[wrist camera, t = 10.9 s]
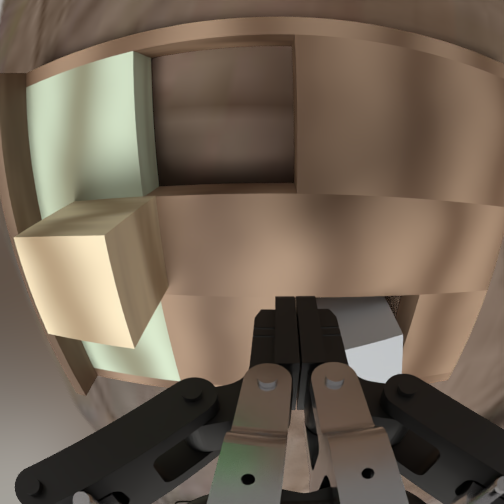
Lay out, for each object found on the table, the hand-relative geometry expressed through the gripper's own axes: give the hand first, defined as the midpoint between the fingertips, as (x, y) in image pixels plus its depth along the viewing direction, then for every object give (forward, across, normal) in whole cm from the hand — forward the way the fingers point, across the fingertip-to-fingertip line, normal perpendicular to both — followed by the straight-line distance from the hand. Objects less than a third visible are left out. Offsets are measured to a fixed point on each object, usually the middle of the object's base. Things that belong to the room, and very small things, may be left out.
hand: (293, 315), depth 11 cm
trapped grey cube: (+8, -4, +7) cm, 11 cm away
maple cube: (+5, +10, -1) cm, 11 cm away
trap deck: (+8, +1, 0) cm, 8 cm away
